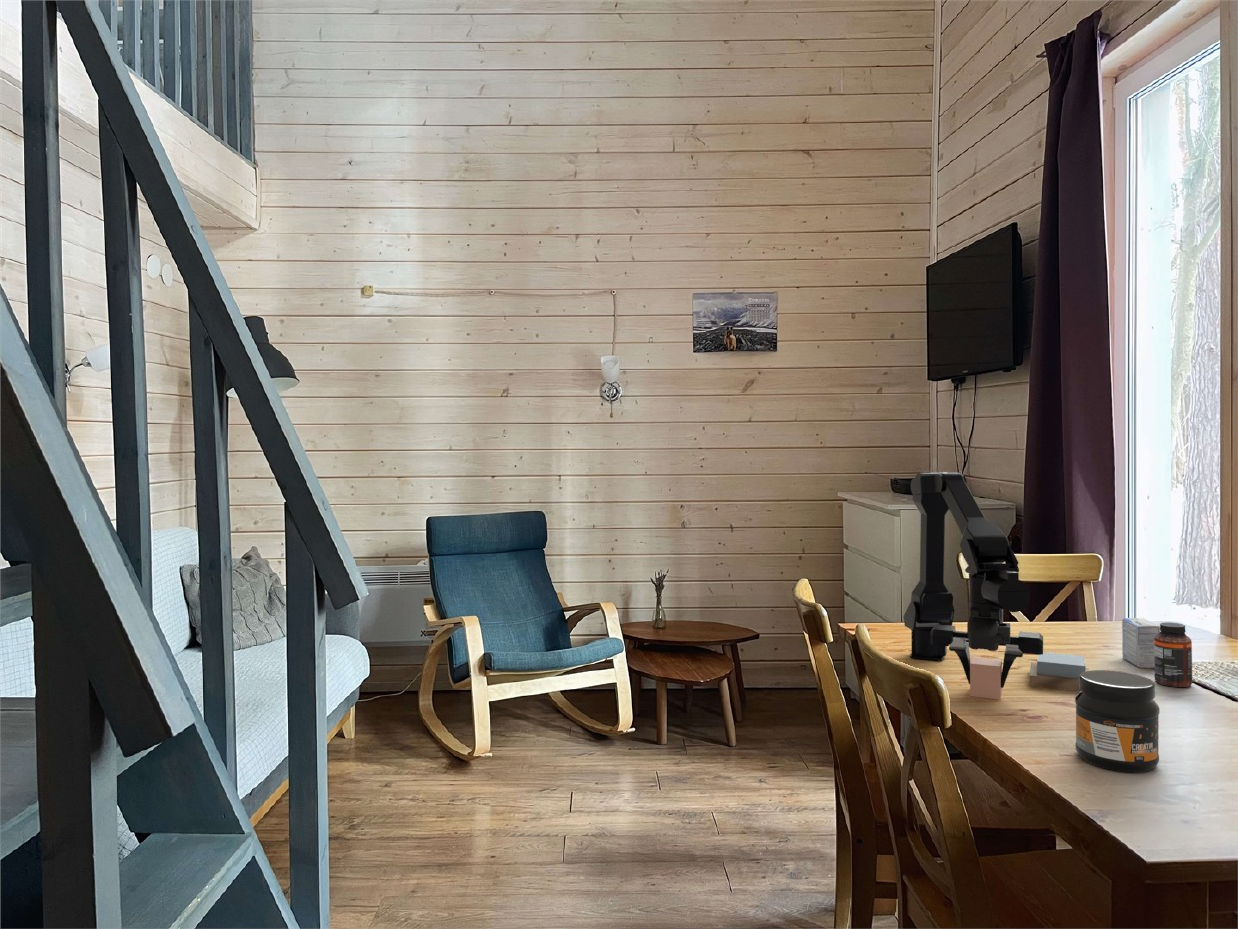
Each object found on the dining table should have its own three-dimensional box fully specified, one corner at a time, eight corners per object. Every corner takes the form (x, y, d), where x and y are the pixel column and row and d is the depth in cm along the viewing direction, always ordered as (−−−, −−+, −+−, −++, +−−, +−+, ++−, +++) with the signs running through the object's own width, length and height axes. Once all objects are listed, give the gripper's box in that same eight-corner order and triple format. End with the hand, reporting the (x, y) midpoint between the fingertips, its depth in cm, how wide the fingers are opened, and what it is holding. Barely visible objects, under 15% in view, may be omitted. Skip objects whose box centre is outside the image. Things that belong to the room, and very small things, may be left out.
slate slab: (1037, 674, 158) (1037, 661, 158) (1037, 664, 165) (1037, 651, 165) (1085, 679, 154) (1085, 666, 154) (1083, 668, 161) (1083, 656, 161)
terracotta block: (970, 696, 152) (970, 663, 151) (972, 688, 156) (972, 657, 156) (1000, 699, 149) (1000, 666, 149) (1001, 692, 154) (1001, 659, 153)
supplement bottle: (1186, 680, 159) (1186, 621, 158) (1196, 689, 153) (1196, 628, 153) (1150, 678, 161) (1150, 620, 160) (1159, 687, 155) (1159, 626, 155)
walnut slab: (1029, 688, 157) (1029, 675, 157) (1030, 674, 166) (1030, 662, 166) (1090, 695, 153) (1090, 682, 153) (1088, 681, 162) (1088, 668, 162)
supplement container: (1101, 776, 115) (1101, 690, 115) (1060, 747, 126) (1060, 669, 126) (1176, 774, 116) (1177, 689, 115) (1130, 746, 126) (1130, 668, 126)
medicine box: (1161, 669, 167) (1161, 626, 167) (1136, 668, 168) (1137, 625, 167) (1144, 658, 175) (1145, 617, 174) (1121, 658, 175) (1121, 617, 175)
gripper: (926, 605, 149) (926, 691, 150) (1042, 613, 141) (1042, 705, 141) (933, 594, 159) (934, 675, 160) (1043, 601, 150) (1043, 687, 151)
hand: (986, 685), depth 153 cm, fingers closed on terracotta block, 5 cm apart
